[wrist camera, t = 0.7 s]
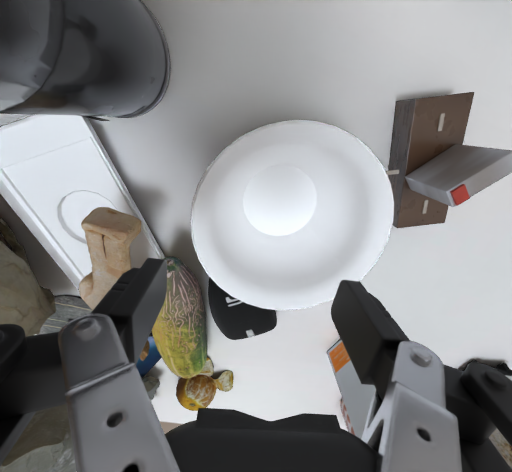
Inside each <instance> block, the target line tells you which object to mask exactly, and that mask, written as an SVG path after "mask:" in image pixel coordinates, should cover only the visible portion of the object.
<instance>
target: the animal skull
mask: <svg viewBox="0 0 512 472" xmlns="http://www.w3.org/2000/svg"><path fill="white" fill-rule="evenodd" d="M0 231H1V233H2V235H3V237H4V239H5V241H6V242H7V243H8V244H9V245H10V246H11V247H12V251H11V250H10V249H9V248H8V247H7V246H6V245H5V244H4V243H3V242H2V241H1V240H0V324H16V325H19V326H21V327H22V328H23V329H24V331H25V335H26V336H33V335H35V334H39V333H40V329H41V327H42V325H43V324H44V323H45V322H46V320H47V319H48V318H49V317H50V316H52V315H53V314H54V313H55V312H56V306H55V299H54V295H53V293H52V292H51V290H50V289H46V288H44V287H42V286H40V285H39V284H38V281H37V279H36V277H35V275H34V273H33V272H32V271H31V269H30V267H29V263H28V260H27V258H26V255H25V251H24V249H23V246H21V245H19V244H18V242H17V240H16V238H15V236H14V234H13V232H12V231H11V229H10V228H9V227H8V225H7V224H6V222H5V221H3V220H2V219H1V218H0Z"/></svg>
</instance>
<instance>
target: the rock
mask: <svg viewBox="0 0 512 472" xmlns="http://www.w3.org/2000/svg"><path fill="white" fill-rule="evenodd" d="M141 379H142V381H143V384H144V386H145V389H146V391H147V393H148V396H149V398H150V400H152V399H153V398H154V394H155V393H156V389H157V388H158V387H159V385H160V381H159V380H158V379H157V378H155V377H151V376H148V377H146V378H145V377H144V378H141ZM0 472H76V464H75V458H74V451H73V444H72V437H71V431H70V424H69V417H68V411H67V404H64V405H60V406H56V407H52V408H48V409H44V410H39V411H36V413H35V414H34V416H33V417H32V419H31V420H30V422H29V424H28V425H27V427H26V428H25V430H24V431H23V433H22V434H21V436H20V437H19V439H18V440H17V442H16V443H15V445H14V446H13V448H12V449H11V451H10V452H9V454H8V455H7V457H6V458H5V460H4V461H3V463H2V464H1V466H0Z"/></svg>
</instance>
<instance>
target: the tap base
mask: <svg viewBox="0 0 512 472" xmlns="http://www.w3.org/2000/svg"><path fill="white" fill-rule="evenodd" d="M473 95H474V92H469V93H461V94H453V95H444V96H436V97H428V98H419V99H411V100H403V101H397V102H396V110H395V119H394V127H393V136H392V145H391V154H390V162H389V171H386V174H387V175H388V178H389V181H390V183H391V188H392V194H393V199H394V216H393V224H392V225H394V226H395V227H396V228H403V227H411V226H420V225H429V224H437V223H444V222H445V218H446V214H447V209H448V205H446V204H444V203H442V202H439V201H437V200H434V199H432V198H430V197H427V196H425V195H422V194H420V193H418V192H415V191H413V190H411V189H410V187H409V185H408V183H407V181H406V178H405V176H407V175H408V174H410V173H411V172H413V171H415V170H416V169H418V168H419V167H421V166H422V165H424V164H425V163H427V162H429V161H430V160H432V159H433V158H435V157H436V156H438V155H439V154H441V153H443V152H444V151H446V150H447V149H449V148H450V147H452V146H453V145H455V144H459V145H462V144H463V139H464V135H465V131H466V126H467V122H468V117H469V113H470V109H471V104H472V100H473Z"/></svg>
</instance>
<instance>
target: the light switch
mask: <svg viewBox="0 0 512 472" xmlns="http://www.w3.org/2000/svg"><path fill="white" fill-rule="evenodd" d="M72 191H73V192H72ZM70 192H71V193H70ZM0 194H1V195H2V196H3V198H4V199H5V200H6V201H7V203H8V204H9V205H10V206H11V207H12V209H13V210H14V211H15V212H16V214H17V215H18V216H19V217H20V219H21V220H22V221H23V222H24V224H25V225H26V226H27V227H28V229H29V230H30V231H31V232H32V233H33V235H34V236H35V237H36V238H37V240H38V241H39V242H40V243H41V245H42V246H43V247H44V248H45V250H46V251H47V252H48V253H49V255H50V256H51V257H52V258H53V259H54V261H55V262H56V263H57V264H58V266H59V267H60V268H61V269H62V271H63V272H64V273H65V274H66V276H67V277H68V278H69V279H70V281H71V282H72V283H73V284H74V285H75V287H76V288H77V289H78V290H79V283H80V282H81V280H82V279H83V278H84V277H85V276H86V275H88V274H89V273H91V272H92V263H91V258H90V253H89V251H88V246H87V240H86V237H85V231H84V230H83V229H82V226H81V223H82V221H83V220H84V219H85V217H87V216H88V215H89V214H90V212H91V211H92V210H94V209H96V208H98V207H109V208H112V209H115V210H117V211H119V212H122V213H126V214H129V215H132V216H134V217H136V218H138V219H140V220H141V232H140V233H139V235H138V236H137V237H136V238H135V239H134V240H133V241H132V242H131V244H130V258H131V268H141V266H142V265H143V264H144V262H145V261H146V259H147V258H156V259H164V258H165V256H164V255H163V253H162V251H161V249H160V247H159V246H158V244H157V242H156V240H155V238H154V237H153V235H152V233H151V231H150V229H149V228H148V226H147V224H146V222H145V220H144V219H143V217H142V215H141V213H140V211H139V210H138V208H137V206H136V204H135V203H134V201H133V199H132V197H131V195H130V194H129V192H128V190H127V188H126V186H125V185H124V183H123V181H122V179H121V177H120V176H119V174H118V172H117V170H116V168H115V167H114V165H113V163H112V161H111V159H110V158H109V156H108V154H107V152H106V150H105V149H104V147H103V145H102V143H101V142H100V140H99V138H98V136H97V134H96V133H95V131H94V129H93V127H92V125H91V124H90V122H89V120H88V118H87V117H82V116H78V115H45V114H36V115H33V116H30V117H27V118H24V119H22V120H19V121H16V122H13V123H10V124H7V125H4V126H2V127H0ZM67 194H68V195H67ZM65 195H66V196H65ZM64 196H65V197H64ZM62 197H63V198H62ZM60 200H61V201H60ZM59 202H60V203H59ZM58 204H59V205H58ZM57 206H58V207H57ZM57 215H58V218H57Z"/></svg>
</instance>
